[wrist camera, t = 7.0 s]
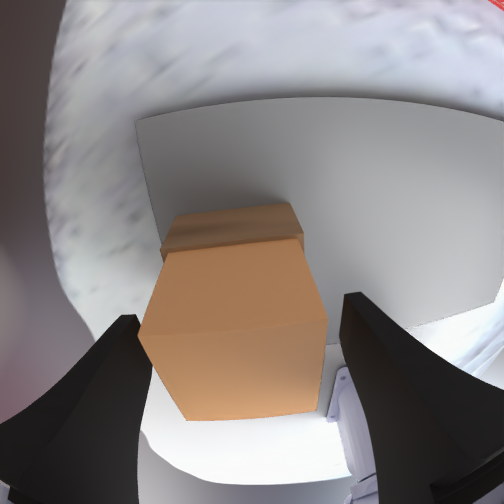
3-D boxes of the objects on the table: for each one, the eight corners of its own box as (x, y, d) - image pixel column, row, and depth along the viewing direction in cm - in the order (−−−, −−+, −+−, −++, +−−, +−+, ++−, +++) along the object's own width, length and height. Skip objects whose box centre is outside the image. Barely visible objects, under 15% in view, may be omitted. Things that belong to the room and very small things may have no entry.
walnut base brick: (293, 294, 15) (303, 335, 12) (197, 304, 15) (191, 346, 12) (289, 202, 12) (304, 233, 10) (175, 216, 12) (159, 249, 10)
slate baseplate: (487, 295, 18) (493, 302, 17) (199, 346, 18) (198, 358, 17) (524, 128, 11) (534, 131, 10) (142, 119, 11) (134, 120, 10)
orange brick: (298, 331, 12) (316, 410, 8) (196, 341, 12) (186, 420, 9) (297, 238, 10) (328, 318, 6) (168, 252, 10) (137, 335, 6)
